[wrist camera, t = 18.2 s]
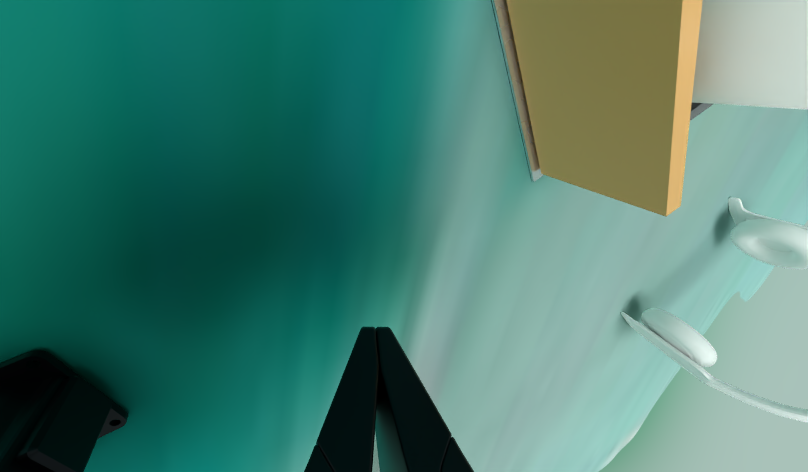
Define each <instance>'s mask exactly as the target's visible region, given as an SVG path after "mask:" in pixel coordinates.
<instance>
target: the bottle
mask: <svg viewBox="0 0 808 472" xmlns="http://www.w3.org/2000/svg"><path fill="white" fill-rule="evenodd" d="M692 102H694V103H710V104H726V105H742V106H758V107H774V108H790V109H806V110H808V0H703V1H702V11H701V20H700V29H699V39H698V48H697V57H696V67H695V76H694V85H693V95H692Z"/></svg>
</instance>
